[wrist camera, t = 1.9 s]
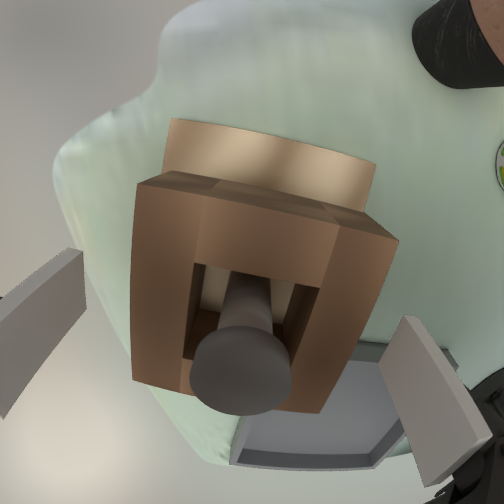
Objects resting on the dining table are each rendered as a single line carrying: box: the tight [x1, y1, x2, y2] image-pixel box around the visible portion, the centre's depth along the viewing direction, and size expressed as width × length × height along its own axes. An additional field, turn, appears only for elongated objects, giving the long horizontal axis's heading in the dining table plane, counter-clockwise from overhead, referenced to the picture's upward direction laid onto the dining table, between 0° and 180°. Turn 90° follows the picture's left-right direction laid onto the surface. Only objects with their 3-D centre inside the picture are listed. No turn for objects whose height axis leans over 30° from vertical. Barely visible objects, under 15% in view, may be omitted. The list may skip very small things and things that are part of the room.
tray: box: [229, 341, 459, 471], centre depth 28 cm, size 20×20×3 cm
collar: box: [130, 170, 399, 414], centre depth 13 cm, size 9×9×4 cm
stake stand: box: [162, 118, 376, 416], centre depth 15 cm, size 14×14×15 cm
